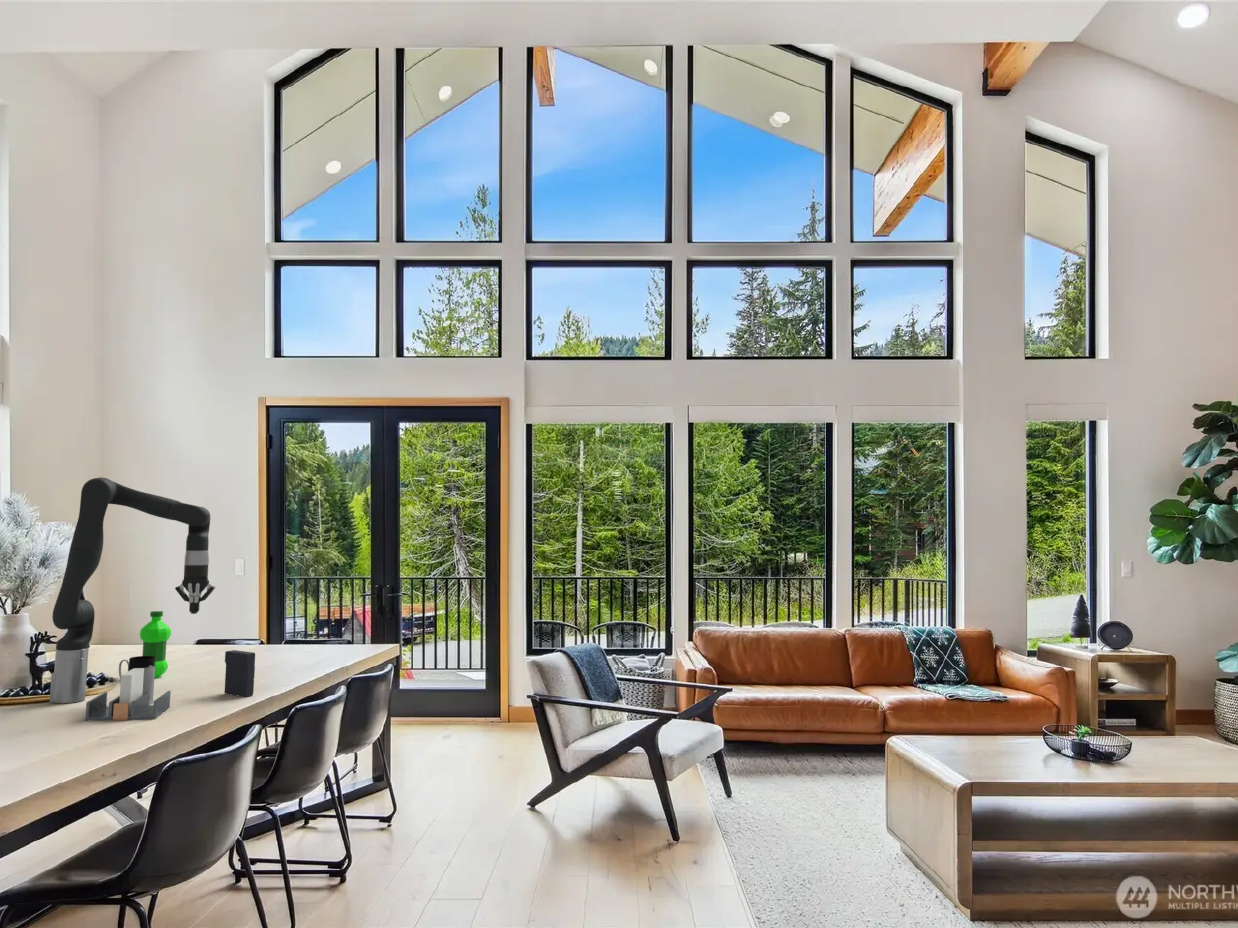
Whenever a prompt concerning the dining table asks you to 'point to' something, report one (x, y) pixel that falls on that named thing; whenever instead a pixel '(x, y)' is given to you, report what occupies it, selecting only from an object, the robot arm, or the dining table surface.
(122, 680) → the panel
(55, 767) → the dining table surface
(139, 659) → the tall mug
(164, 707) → the rack
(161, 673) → the plastic bottle
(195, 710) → the dining table surface
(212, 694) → the dining table surface
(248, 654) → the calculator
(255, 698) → the dining table surface
